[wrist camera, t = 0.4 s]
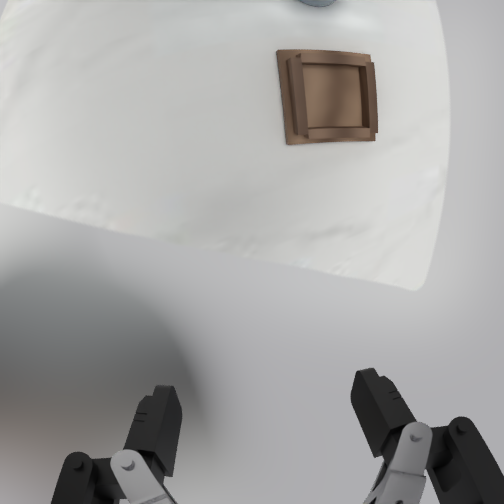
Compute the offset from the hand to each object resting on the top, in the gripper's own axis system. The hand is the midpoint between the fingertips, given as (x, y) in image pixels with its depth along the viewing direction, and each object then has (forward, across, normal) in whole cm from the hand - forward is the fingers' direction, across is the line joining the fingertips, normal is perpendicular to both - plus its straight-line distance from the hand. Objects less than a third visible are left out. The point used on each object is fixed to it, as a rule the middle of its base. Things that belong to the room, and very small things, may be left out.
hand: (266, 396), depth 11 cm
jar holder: (+24, -11, -18) cm, 32 cm away
